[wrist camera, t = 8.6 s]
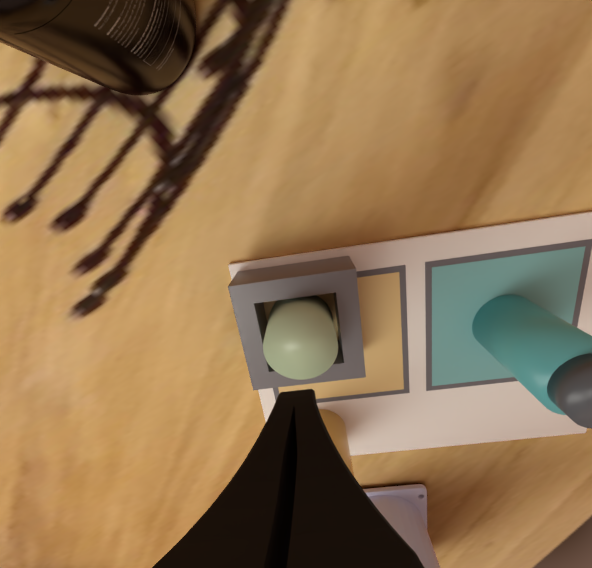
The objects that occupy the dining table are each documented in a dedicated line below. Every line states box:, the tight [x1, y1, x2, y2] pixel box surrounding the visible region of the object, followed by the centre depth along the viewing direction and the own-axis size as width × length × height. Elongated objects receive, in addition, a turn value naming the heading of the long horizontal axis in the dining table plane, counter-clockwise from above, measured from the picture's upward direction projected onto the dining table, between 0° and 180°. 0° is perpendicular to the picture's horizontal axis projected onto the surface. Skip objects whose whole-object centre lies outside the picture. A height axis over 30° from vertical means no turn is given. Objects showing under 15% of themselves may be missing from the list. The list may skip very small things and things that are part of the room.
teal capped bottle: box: [472, 294, 592, 428], centre depth 17 cm, size 4×4×7 cm
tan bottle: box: [319, 409, 354, 476], centre depth 20 cm, size 4×4×7 cm
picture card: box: [228, 211, 592, 456], centre depth 21 cm, size 17×24×1 cm
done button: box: [263, 295, 338, 380], centre depth 18 cm, size 4×4×3 cm
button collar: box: [228, 256, 366, 390], centre depth 19 cm, size 7×7×3 cm
